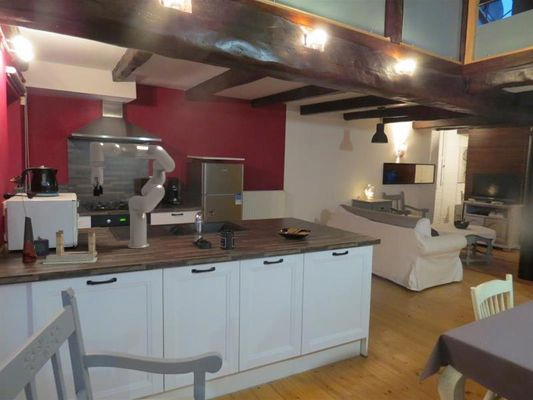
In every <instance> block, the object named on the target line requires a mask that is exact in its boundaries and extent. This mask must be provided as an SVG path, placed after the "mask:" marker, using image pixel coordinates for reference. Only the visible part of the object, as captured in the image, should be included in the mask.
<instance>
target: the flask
mask: <svg viewBox="0 0 533 400" xmlns="http://www.w3.org/2000/svg"><path fill="white" fill-rule="evenodd" d="M33 240H34V245H35V252H36V255H37V256H38V257H46V256H47V255H50V242H49V241H50V240H49V239H47V238H42V237H41V236H40V235H39V236H37V237H36V239H33Z"/></svg>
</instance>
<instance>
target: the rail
mask: <svg viewBox="0 0 533 400" xmlns="http://www.w3.org/2000/svg"><path fill="white" fill-rule="evenodd" d="M45 258H46V260H45V261H46V262H66V261H93V260H94V258H95V257H94V254H62V255H56V254H49V255H47V256H45Z"/></svg>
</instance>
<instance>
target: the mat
mask: <svg viewBox="0 0 533 400" xmlns="http://www.w3.org/2000/svg"><path fill="white" fill-rule="evenodd" d="M97 258H98V257H96V256H95V257H94V260H93V261H66V262H46V260H45V261H44V262H43V263H41V264H42V266H49V265H51V266H53V265H56V266H57V265H80V264H81V265H82V264H83V265H84V263H85V264H95V263H96V261H97V260H98V259H97Z"/></svg>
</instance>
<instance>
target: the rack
mask: <svg viewBox="0 0 533 400" xmlns="http://www.w3.org/2000/svg"><path fill="white" fill-rule="evenodd" d="M87 232H88V234H87V236H88V237H87V238H88V251H68V252H67V251H65V242H64V241H65V240H64V238H65V237H64V230H62V229H61V230H60V229H59V230H58V231H56V232H55V248H56V249H55V251H56V253H55V255H62V254H94V258H96V256H97V255H98V251H96V229H90V230H89V231H87Z"/></svg>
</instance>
